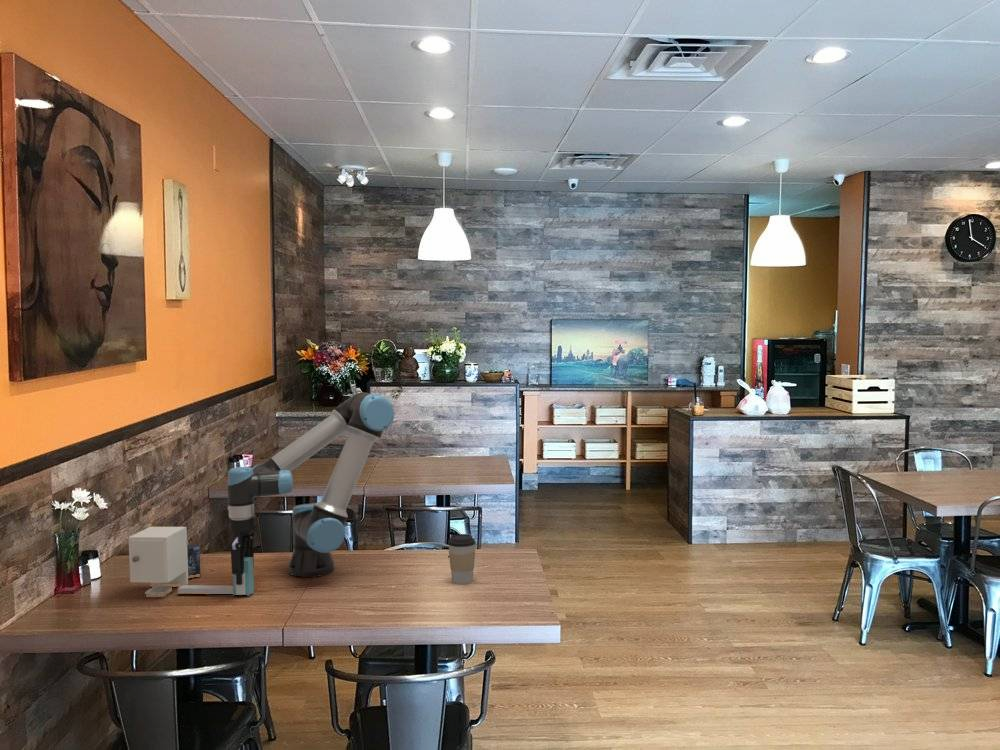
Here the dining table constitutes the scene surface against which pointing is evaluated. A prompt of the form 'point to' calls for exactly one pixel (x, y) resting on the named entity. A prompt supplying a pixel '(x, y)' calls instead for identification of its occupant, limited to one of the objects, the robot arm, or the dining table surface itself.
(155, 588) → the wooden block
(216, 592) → the hammer tool
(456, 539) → the coffee cup
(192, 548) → the box
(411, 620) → the dining table surface
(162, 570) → the wall cabinet
